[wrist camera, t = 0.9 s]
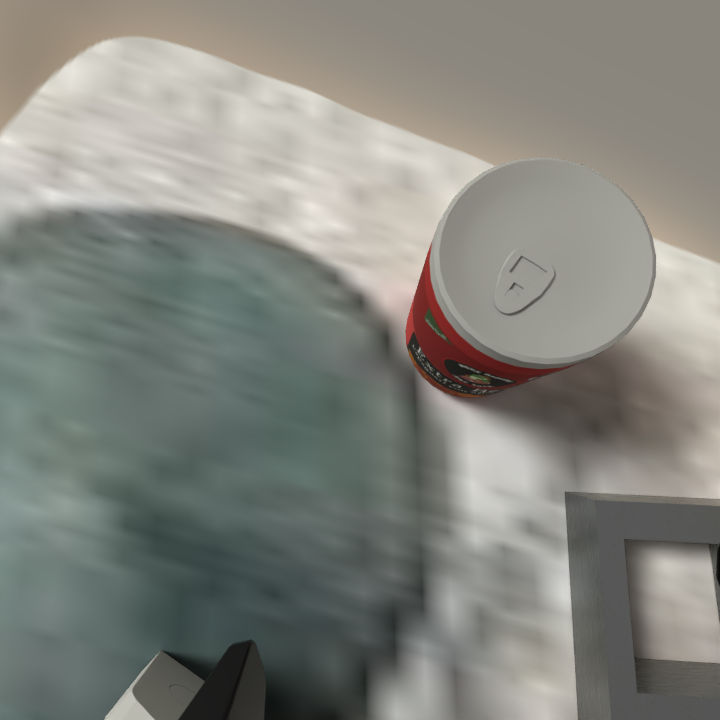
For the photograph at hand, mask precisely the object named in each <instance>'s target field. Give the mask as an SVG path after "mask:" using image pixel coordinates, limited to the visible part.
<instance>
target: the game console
mask: <svg viewBox="0 0 720 720" xmlns="http://www.w3.org/2000/svg"><path fill="white" fill-rule="evenodd" d="M204 682H205V681H204V680H202V679H201V678H200V677H198V676H197V675H195V674H194V673H193V672H191V671H190V670H188V669H187V668H185V667H184V666H183V665H181V664H180V663H178V662H177V661H176V660H174V659H173V658H171V657H170V656H169V655H167V654H166V653H164V652H163V651H160V652H159V653H158V654H157V655H156V656H155V657H154V659H153V660H152V661H151V662H150V663H149V664H148V665H147V666H146V667H145V668H144V670H143V671H142V672H141V673H140V674H139V676H138V677H137V678H136V679H135V681H134V682H133V683H132V684H131V686H130V687H129V688H128V689H127V691H126V692H125V693H124V694H123V696H122V697H121V698H120V699H119V701H118V702H117V703H116V705H115V706H114V707H113V708H112V710H111V711H110V712H109V713H108V715H107V716H106V717H105V720H178V719H179V717H180V716H181V715H182V713H183V712H184V710H185V709H186V707H187V706H188V705H189V703H190V702H191V700H192V699H193V698H194V696H195V695H196V693H197V692H198V690H199V689H200V688H201V686H202V685H203V683H204Z"/></svg>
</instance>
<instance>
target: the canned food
mask: <svg viewBox="0 0 720 720" xmlns="http://www.w3.org/2000/svg"><path fill="white" fill-rule="evenodd" d="M655 277H656V254H655V249H654V244H653V239H652V235H651V233H650V230H649V228H648V225H647V223H646V221H645V218H644V216H643V215H642V213H641V212H640V210H639V209H638V207H637V206H636V205H635V203H634V201H633V200H632V199H631V198H630V197H629V196H628V195H627V194H626V193H625V192H624V191H623V190H622V189H621V188H620V187H619V186H618V185H617V184H615V183H614V182H613V181H611V180H610V179H608V178H607V177H605V176H604V175H603V174H601V173H599V172H597V171H595V170H593V169H591V168H588V167H586V166H584V165H582V164H578V163H575V162H571V161H567V160H564V159H556V158H545V157H538V158H525V159H519V160H515V161H511V162H507V163H503V164H500V165H498V166H496V167H494V168H491V169H489V170H487V171H485V172H483V173H482V174H480V175H479V176H477V177H476V178H475V179H473V180H472V181H470V182H469V183H468V184H467V185H466V186H465V187H464V188H463V189H462V190H461V191H460V192H459V193H458V194H457V195H456V196H455V197H454V198H453V200H452V202H451V203H450V205H449V206H448V208H447V210H446V211H445V213H444V215H443V217H442V219H441V220H440V222H439V224H438V226H437V229H436V232H435V235H434V238H433V240H432V243H431V246H430V249H429V251H428V254H427V257H426V260H425V264H424V267H423V270H422V273H421V277H420V280H419V283H418V286H417V290H416V293H415V296H414V299H413V303H412V306H411V309H410V313H409V316H408V319H407V326H406V344H407V348H408V352H409V356H410V358H411V360H412V362H413V364H414V366H415V368H416V369H417V370H418V372H419V373H420V374H421V375H422V377H423V378H424V379H426V380H427V381H428V382H429V383H430V384H431V385H433V386H434V387H436V388H438V389H440V390H441V391H443V392H446V393H449V394H452V395H455V396H460V397H469V398H470V397H482V396H486V395H489V394H493V393H496V392H499V391H502V390H505V389H508V388H511V387H514V386H517V385H519V384H522V383H525V382H528V381H531V380H534V379H537V378H540V377H543V376H546V375H548V374H551V373H554V372H557V371H560V370H563V369H566V368H568V367H570V366H572V365H575V364H578V363H581V362H584V361H585V360H587V359H589V358H591V357H593V356H595V355H597V354H599V353H601V352H603V351H604V350H605V349H607V348H609V347H611V346H612V345H614V344H615V343H616V342H617V341H619V340H620V339H621V338H622V337H623V336H625V335H626V334H627V333H628V332H629V331H630V330H631V329H632V327H633V326H634V325H635V324H636V322H637V321H638V320H639V318H640V317H641V316H642V314H643V312H644V310H645V308H646V306H647V304H648V302H649V300H650V298H651V294H652V290H653V286H654V281H655Z"/></svg>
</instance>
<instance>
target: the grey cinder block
mask: <svg viewBox="0 0 720 720" xmlns="http://www.w3.org/2000/svg"><path fill="white" fill-rule="evenodd" d="M565 501H566V518H567V535H568V552H569V569H570V586H571V603H572V620H573V637H574V654H575V671H576V688H577V704H578V720H720V664H717V663H700V662H684V661H667V660H651V659H635V658H634V649H633V638H632V626H631V615H630V603H629V591H628V580H627V568H626V556H625V545H624V539H632V540H651V541H671V542H690V543H709V544H710V550H711V558H712V565H713V573H714V581H715V589H716V597H717V605H718V613H719V621H720V586H719V584H718V582H717V578H716V559H717V546H718V544H719V543H720V499H704V498H684V497H663V496H642V495H621V494H601V493H580V492H565Z"/></svg>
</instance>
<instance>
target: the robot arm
mask: <svg viewBox="0 0 720 720" xmlns="http://www.w3.org/2000/svg"><path fill="white" fill-rule="evenodd" d="M716 578H717V582H718V584H719V586H720V543H719V544H718V546H717V559H716ZM265 695H266V676H265V671H264V668H263V665H262V662H261V658H260V655H259V652H258V649H257V646H256V644H255V642H254V641H253V640H247V641H242V642H237V643H234V644H232V645H231V646H230V647H229V648H228V649H227V651H226V652H225V653H224V655H223V656H222V658H221V659H220V661H219V662H218V663H217V665H216V666H215V668H214V669H213V671H212V672H211V673H210V675H209V676H208V678H207V679H206V680H205V682H204V683H203V685H202V686H201V688H200V689H199V690H198V692H197V693H196V695H195V696H194V698H193V699H192V700H191V702H190V703H189V705H188V706H187V707H186V709H185V710H184V712H183V713H182V715H181V716H180V717H179V719H178V720H264V709H265Z"/></svg>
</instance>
